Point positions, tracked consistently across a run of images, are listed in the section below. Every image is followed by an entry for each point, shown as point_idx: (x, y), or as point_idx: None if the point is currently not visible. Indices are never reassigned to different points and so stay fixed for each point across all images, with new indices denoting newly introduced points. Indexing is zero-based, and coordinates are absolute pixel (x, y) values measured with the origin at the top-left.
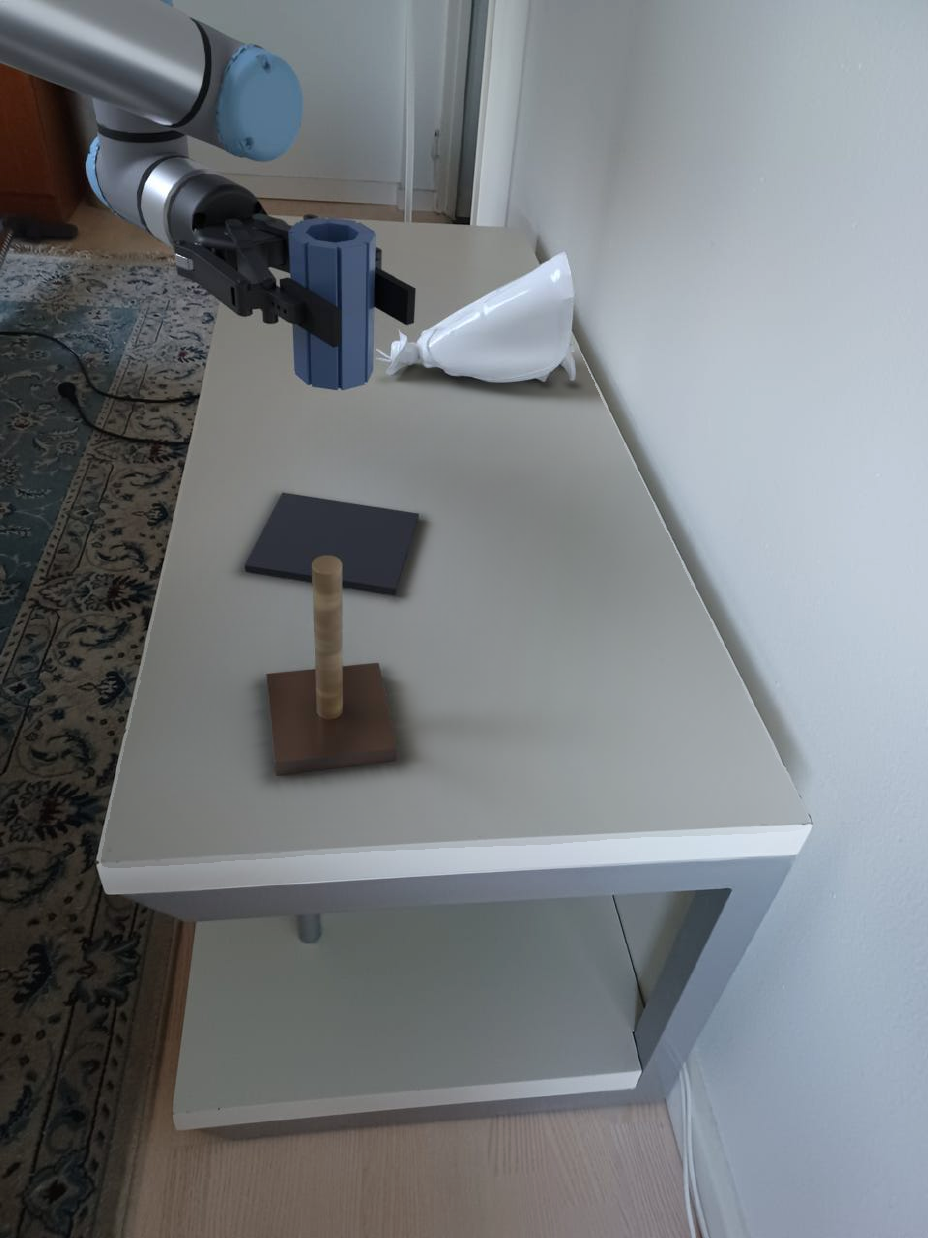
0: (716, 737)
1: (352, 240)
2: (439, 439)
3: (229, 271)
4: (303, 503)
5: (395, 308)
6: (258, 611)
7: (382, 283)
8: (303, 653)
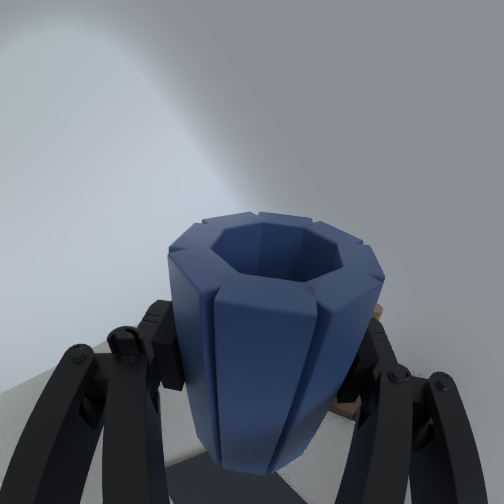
0: None
1: (270, 221)
2: None
3: (457, 428)
4: None
5: None
6: (330, 474)
7: None
8: (326, 432)
